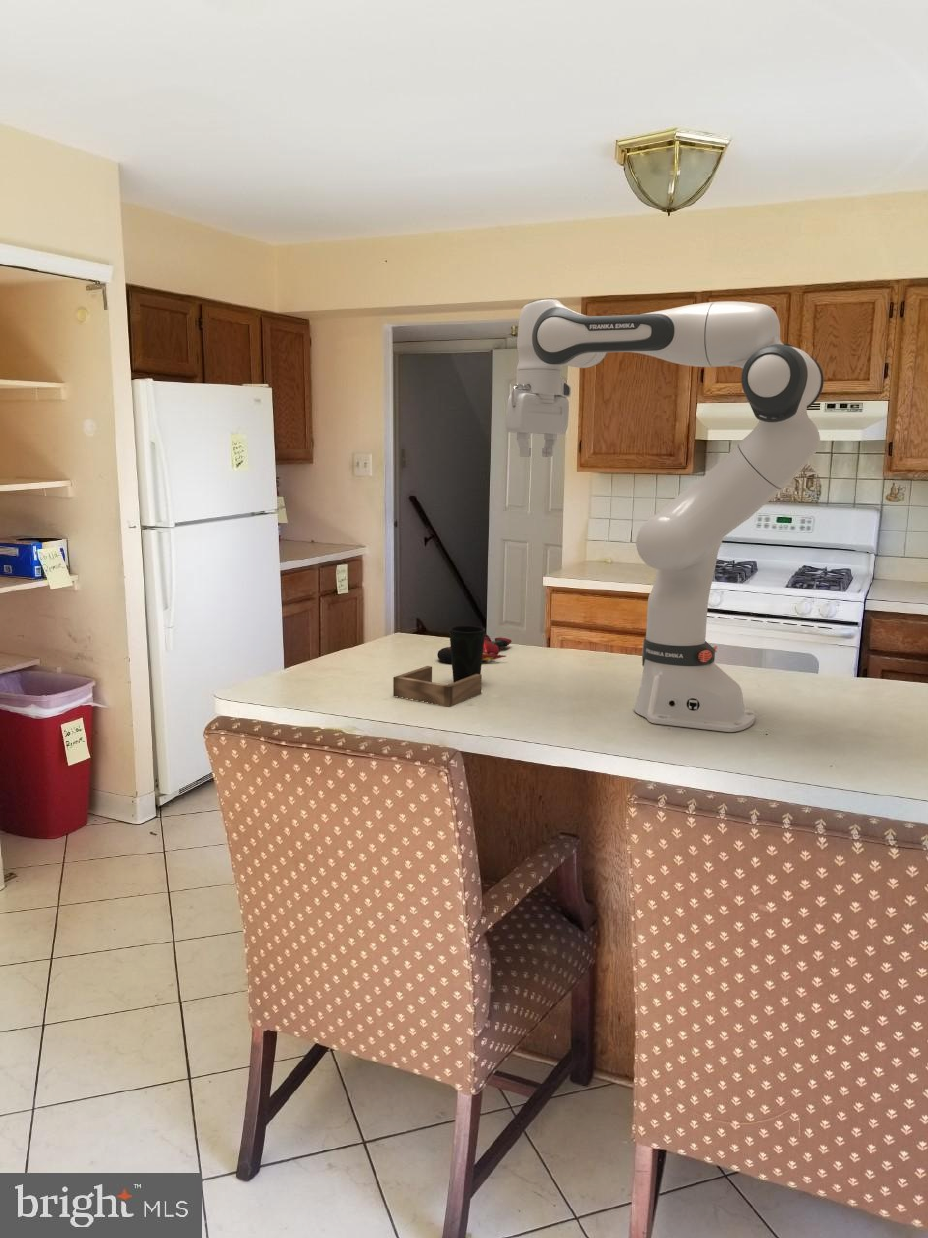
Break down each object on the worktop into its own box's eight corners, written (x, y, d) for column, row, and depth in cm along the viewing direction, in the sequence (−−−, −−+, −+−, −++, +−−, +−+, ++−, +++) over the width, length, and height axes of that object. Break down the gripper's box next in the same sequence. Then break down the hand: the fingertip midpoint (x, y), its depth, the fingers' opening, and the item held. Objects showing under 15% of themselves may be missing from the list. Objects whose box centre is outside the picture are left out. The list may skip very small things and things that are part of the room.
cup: (491, 682, 201) (492, 627, 199) (472, 690, 195) (473, 633, 193) (460, 677, 205) (461, 623, 203) (441, 684, 199) (442, 629, 197)
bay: (481, 693, 192) (481, 674, 192) (449, 707, 182) (449, 687, 182) (427, 684, 199) (427, 665, 199) (393, 696, 189) (393, 677, 189)
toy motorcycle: (434, 670, 219) (500, 664, 214) (431, 648, 218) (497, 642, 213) (464, 650, 242) (524, 645, 238) (462, 631, 242) (522, 625, 237)
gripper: (527, 382, 175) (525, 457, 178) (575, 388, 192) (572, 457, 195) (498, 382, 178) (496, 456, 181) (547, 389, 195) (545, 456, 198)
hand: (536, 457), depth 188 cm, fingers open, 8 cm apart
